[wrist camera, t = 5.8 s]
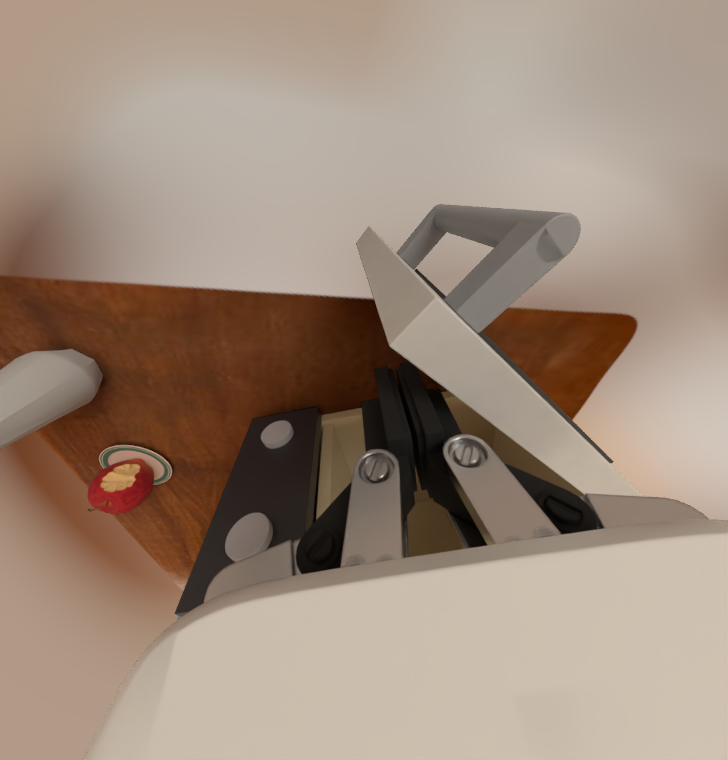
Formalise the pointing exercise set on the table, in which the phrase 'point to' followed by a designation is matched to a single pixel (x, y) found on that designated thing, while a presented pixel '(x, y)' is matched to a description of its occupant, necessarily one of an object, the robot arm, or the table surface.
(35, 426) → the salt shaker
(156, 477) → the apple
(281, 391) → the table surface
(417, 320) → the microwave door
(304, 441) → the microwave
